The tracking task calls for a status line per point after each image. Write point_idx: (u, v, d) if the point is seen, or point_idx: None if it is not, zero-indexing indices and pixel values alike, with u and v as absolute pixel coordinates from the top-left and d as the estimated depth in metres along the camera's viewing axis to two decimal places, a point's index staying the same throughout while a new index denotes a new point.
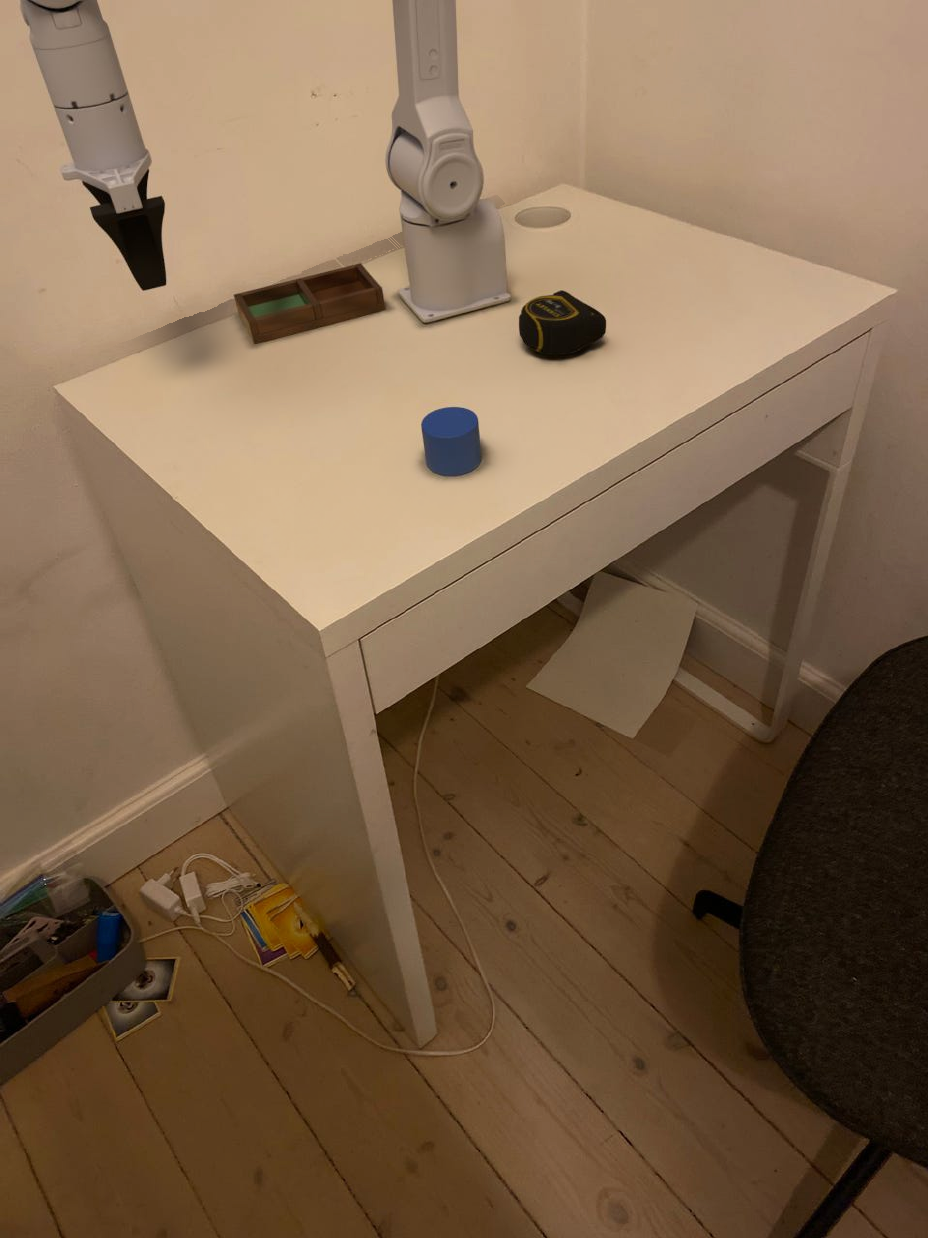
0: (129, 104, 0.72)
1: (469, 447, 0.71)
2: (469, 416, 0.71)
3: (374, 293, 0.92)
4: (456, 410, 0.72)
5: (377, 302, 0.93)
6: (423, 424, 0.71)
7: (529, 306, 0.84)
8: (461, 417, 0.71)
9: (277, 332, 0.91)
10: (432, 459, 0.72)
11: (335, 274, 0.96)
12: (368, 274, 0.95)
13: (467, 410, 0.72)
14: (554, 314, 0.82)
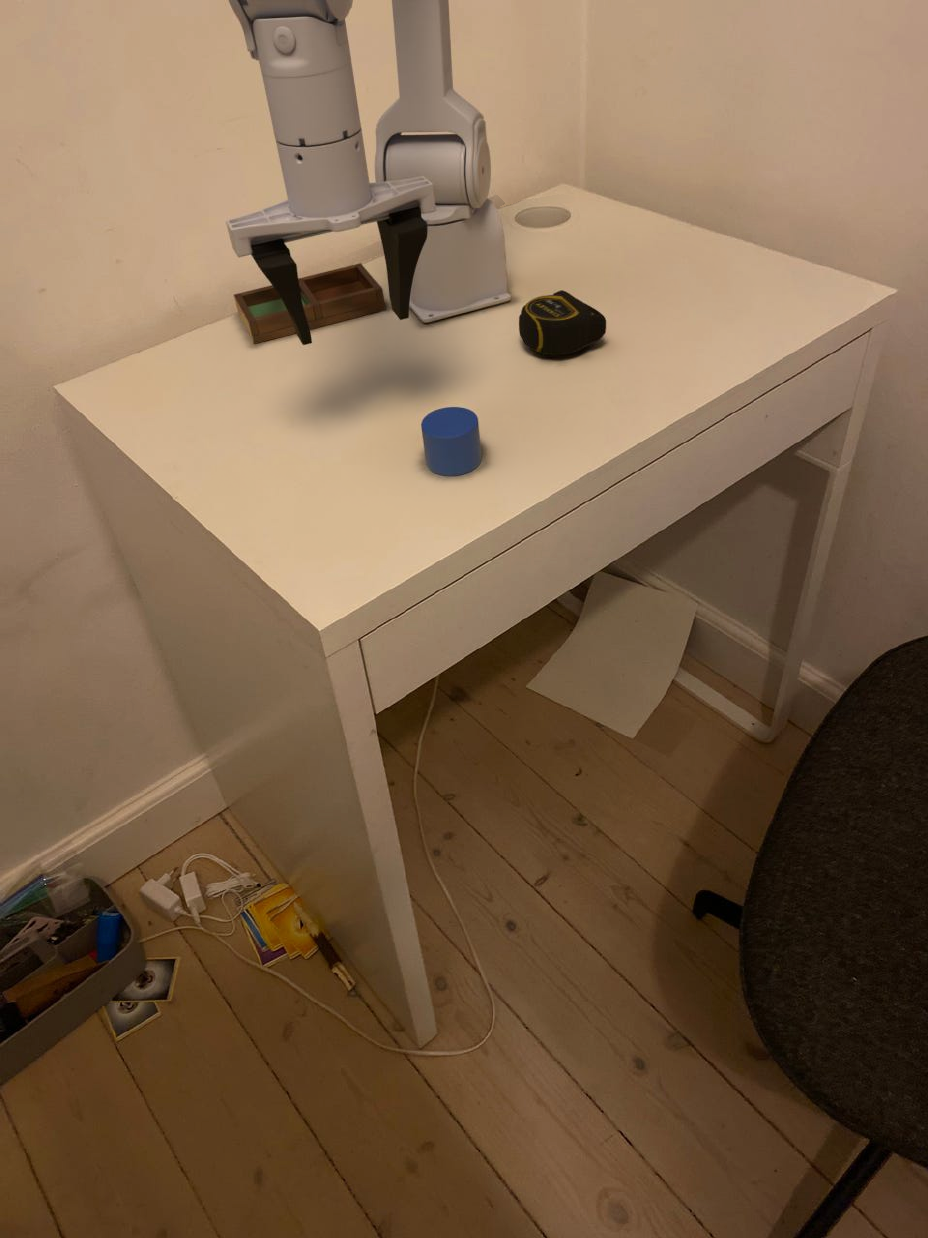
0: None
1: (469, 447, 0.71)
2: (469, 416, 0.71)
3: (374, 293, 0.92)
4: (456, 410, 0.72)
5: (377, 302, 0.93)
6: (423, 424, 0.71)
7: (529, 306, 0.84)
8: (461, 417, 0.71)
9: (277, 332, 0.91)
10: (432, 459, 0.72)
11: (335, 274, 0.96)
12: (368, 274, 0.95)
13: (467, 410, 0.72)
14: (554, 314, 0.82)
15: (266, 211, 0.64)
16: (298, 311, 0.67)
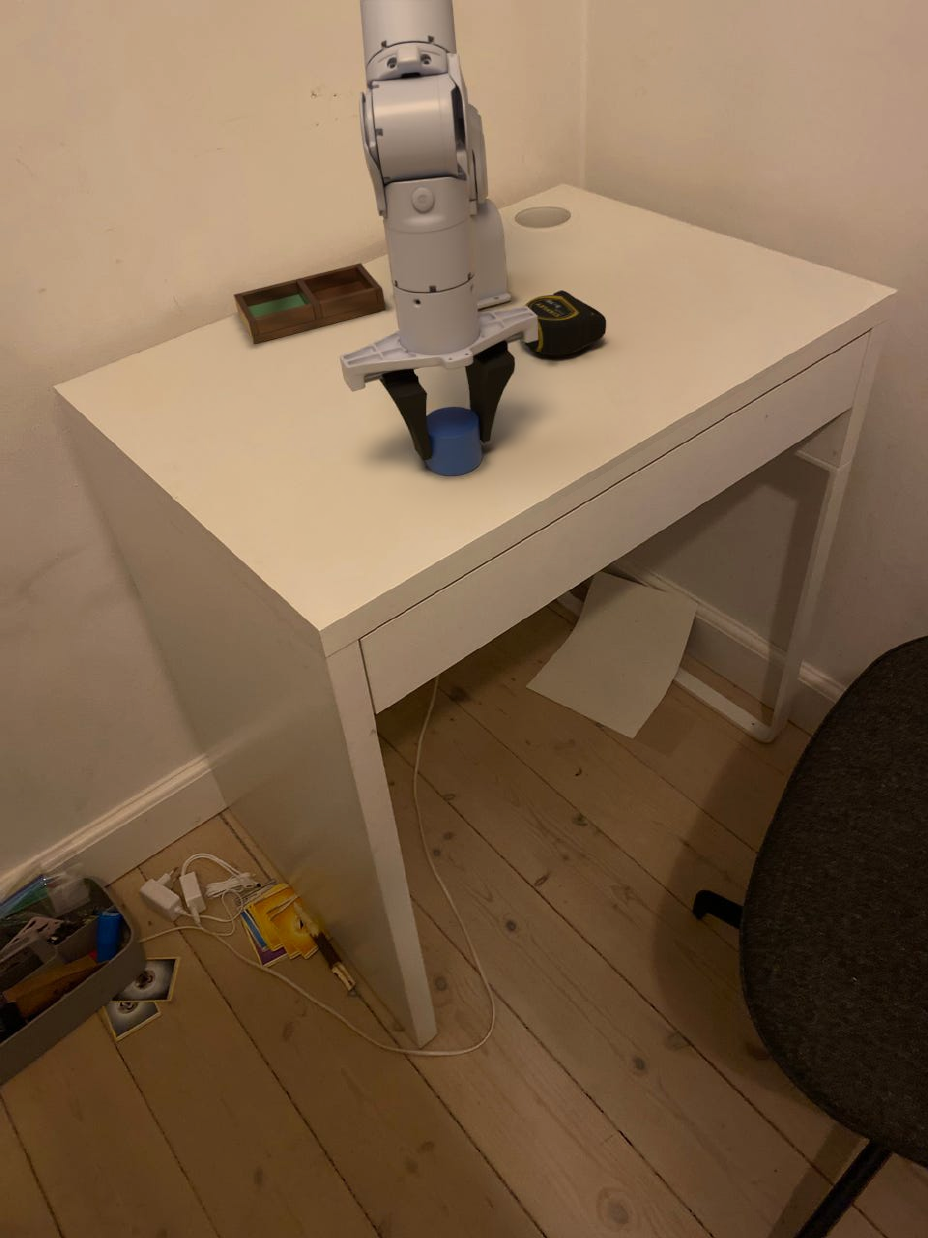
0: None
1: (470, 447, 0.71)
2: (469, 416, 0.71)
3: (374, 293, 0.92)
4: (456, 410, 0.72)
5: (377, 302, 0.93)
6: None
7: (529, 306, 0.84)
8: (461, 417, 0.71)
9: (277, 332, 0.91)
10: (433, 459, 0.72)
11: (335, 274, 0.96)
12: (368, 274, 0.95)
13: (467, 410, 0.72)
14: (554, 314, 0.82)
15: (377, 344, 0.66)
16: (422, 432, 0.69)
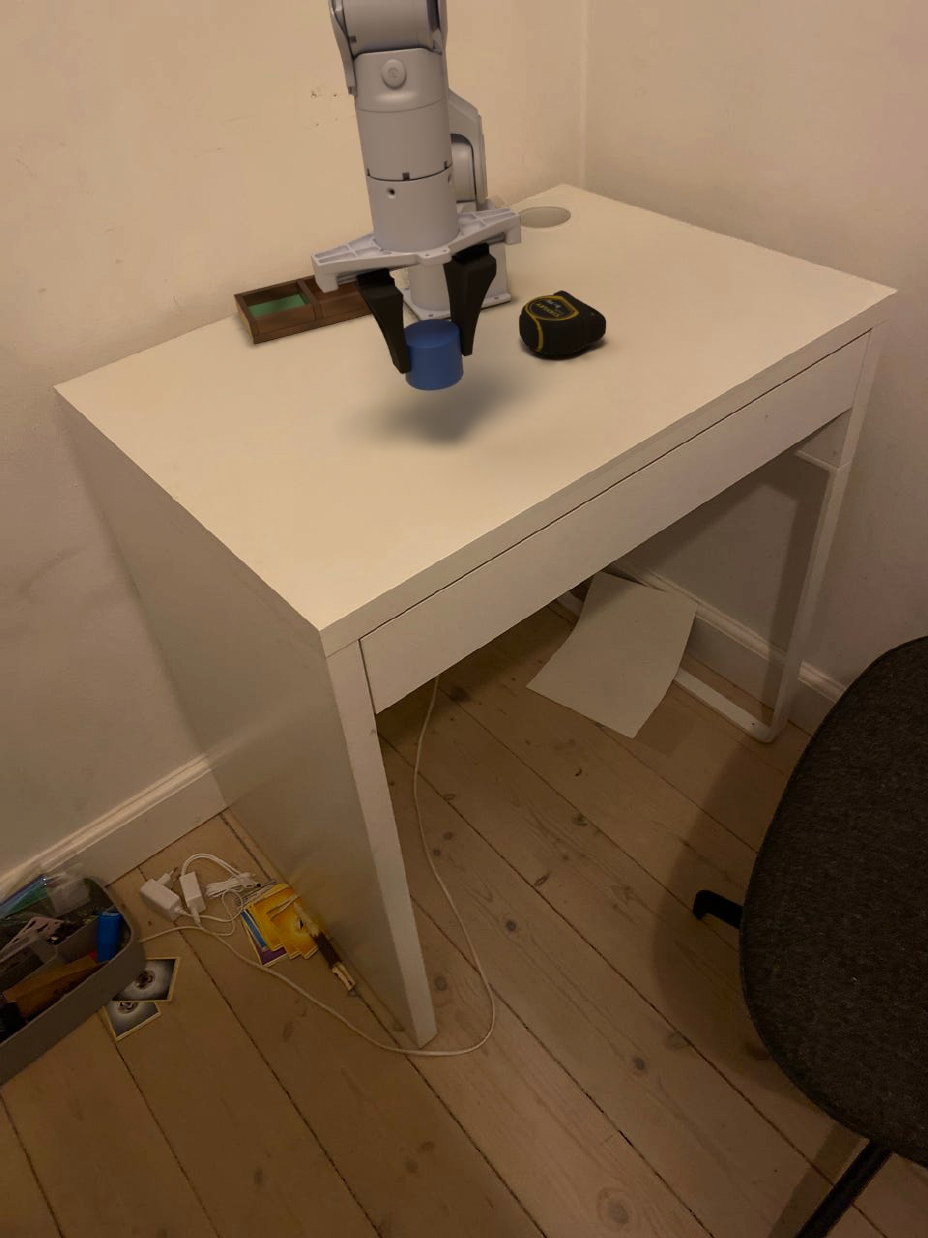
0: None
1: (450, 359, 0.67)
2: (450, 327, 0.68)
3: None
4: (437, 322, 0.69)
5: None
6: None
7: (529, 306, 0.84)
8: (442, 328, 0.68)
9: (277, 332, 0.91)
10: (411, 372, 0.68)
11: None
12: None
13: (448, 321, 0.69)
14: (554, 314, 0.82)
15: (350, 244, 0.63)
16: (400, 340, 0.65)
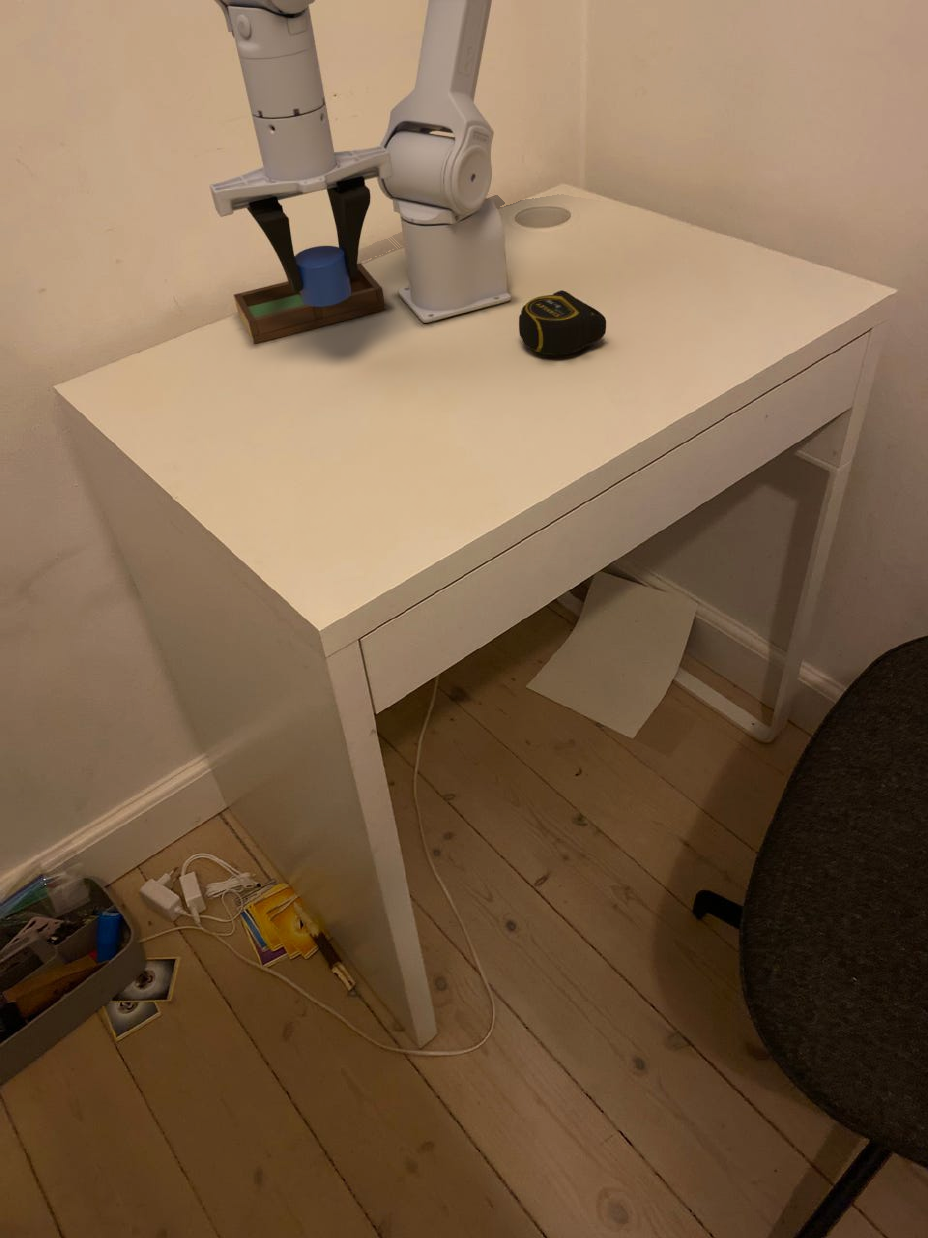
0: None
1: (336, 278, 0.79)
2: (337, 251, 0.79)
3: (374, 293, 0.92)
4: (326, 247, 0.80)
5: (377, 302, 0.93)
6: (295, 258, 0.79)
7: (529, 306, 0.84)
8: (329, 252, 0.79)
9: (277, 332, 0.91)
10: (304, 290, 0.79)
11: None
12: (368, 274, 0.95)
13: (336, 247, 0.80)
14: (554, 314, 0.82)
15: (244, 177, 0.74)
16: (290, 261, 0.77)
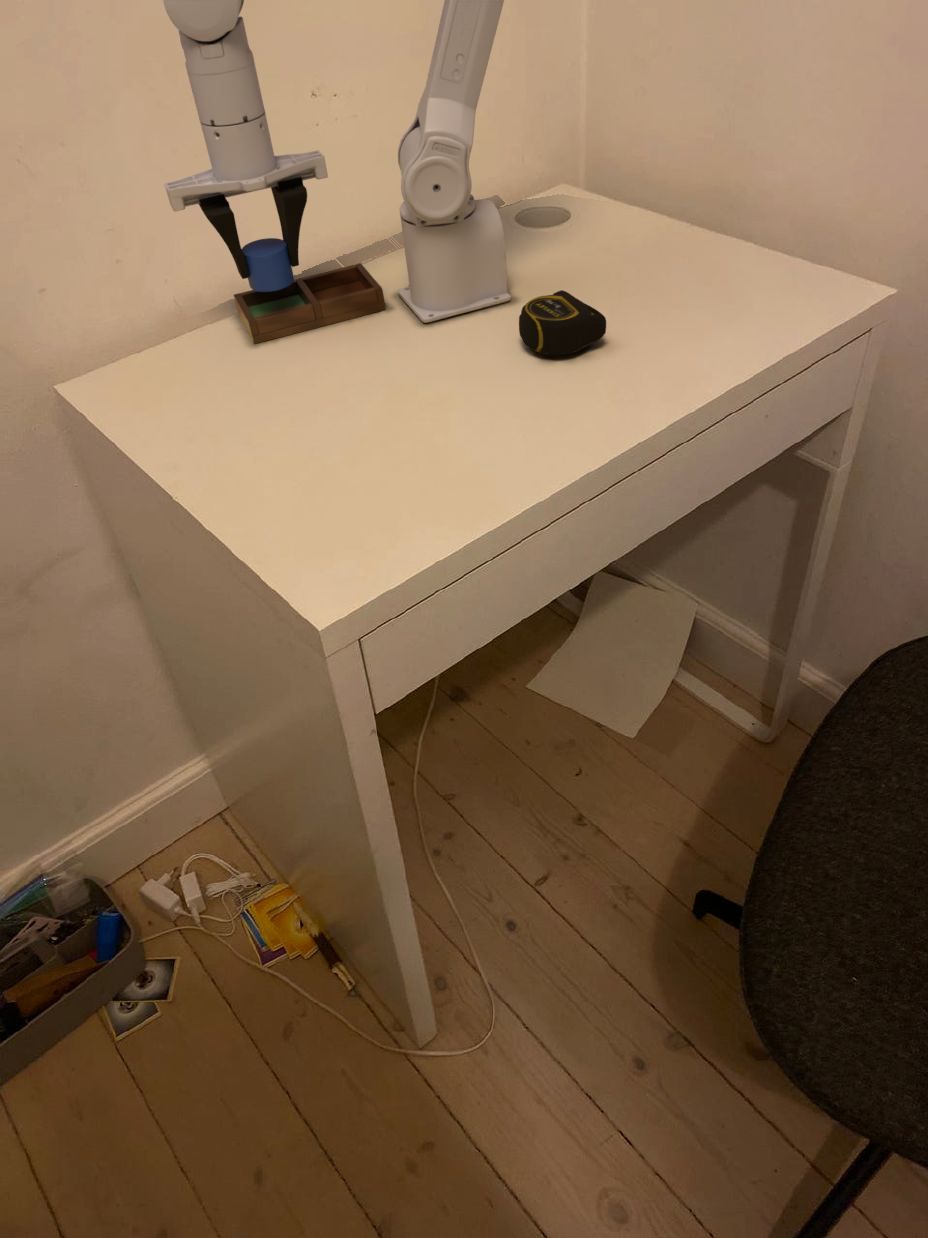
0: None
1: (279, 267, 0.89)
2: (280, 243, 0.89)
3: (374, 293, 0.92)
4: (271, 240, 0.90)
5: (377, 302, 0.93)
6: (243, 249, 0.89)
7: (529, 306, 0.84)
8: (273, 244, 0.89)
9: (277, 332, 0.91)
10: (251, 278, 0.90)
11: (335, 274, 0.96)
12: (368, 274, 0.95)
13: (280, 239, 0.90)
14: (554, 314, 0.82)
15: (196, 177, 0.84)
16: (237, 251, 0.87)
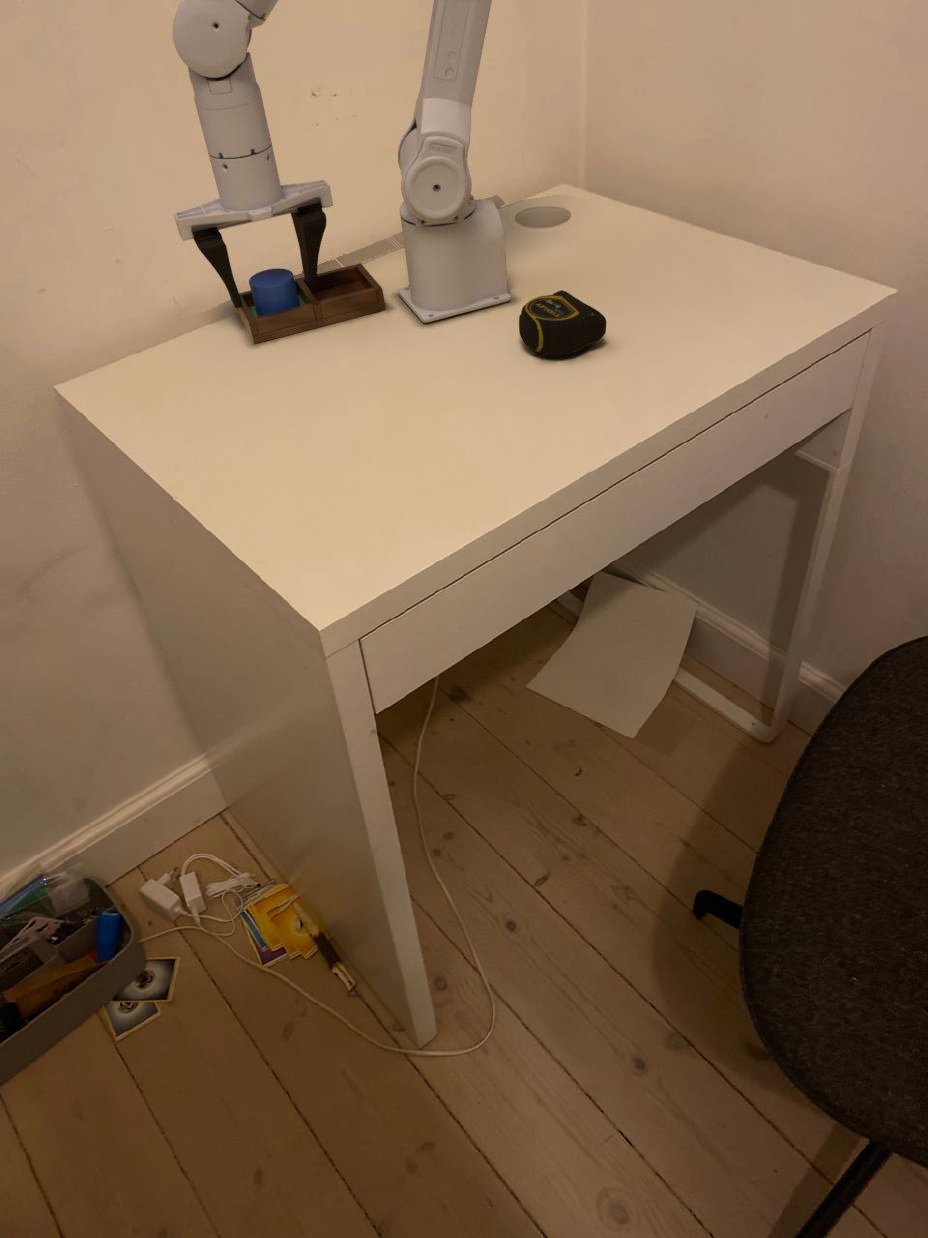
0: None
1: (286, 297, 0.91)
2: (287, 273, 0.92)
3: (374, 293, 0.92)
4: (278, 270, 0.92)
5: (377, 302, 0.93)
6: (250, 279, 0.91)
7: (529, 306, 0.84)
8: (280, 274, 0.92)
9: (277, 332, 0.91)
10: (258, 307, 0.92)
11: (335, 274, 0.96)
12: (368, 274, 0.95)
13: (286, 270, 0.92)
14: (554, 314, 0.82)
15: (204, 206, 0.86)
16: (230, 281, 0.88)
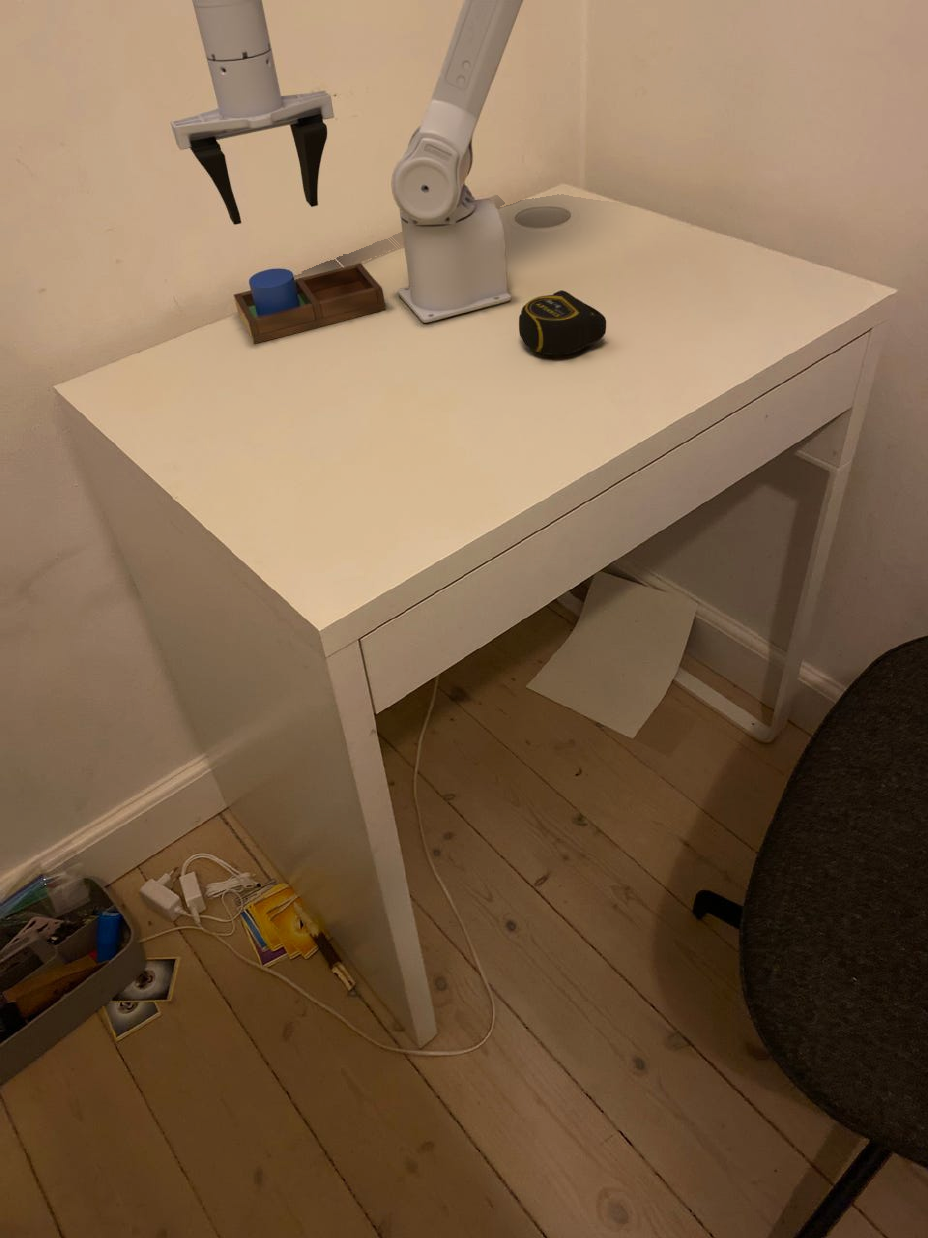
0: None
1: (286, 297, 0.91)
2: (287, 273, 0.92)
3: (374, 293, 0.92)
4: (278, 270, 0.92)
5: (377, 302, 0.93)
6: (250, 279, 0.91)
7: (529, 306, 0.84)
8: (280, 274, 0.92)
9: (277, 332, 0.91)
10: (258, 307, 0.92)
11: (335, 274, 0.96)
12: (368, 274, 0.95)
13: (286, 270, 0.92)
14: (554, 314, 0.82)
15: (202, 115, 0.84)
16: (229, 195, 0.86)
